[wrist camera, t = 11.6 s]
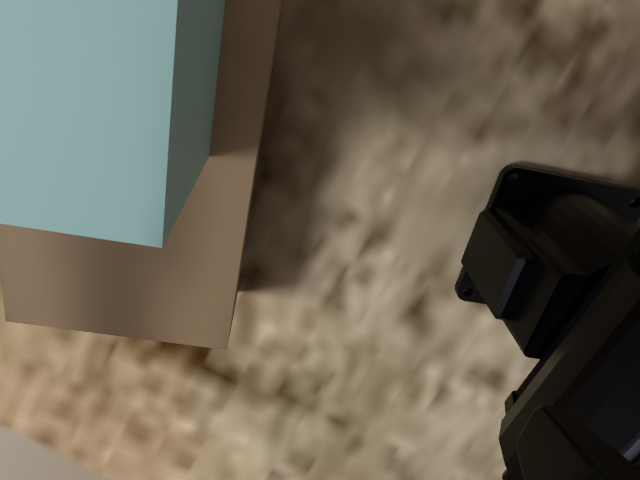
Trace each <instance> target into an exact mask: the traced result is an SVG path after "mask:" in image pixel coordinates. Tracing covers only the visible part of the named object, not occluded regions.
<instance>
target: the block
mask: <svg viewBox="0 0 640 480" xmlns="http://www.w3.org/2000/svg"><path fill="white" fill-rule="evenodd" d="M224 6H225V0H0V224H6V225H13V226H20V227H26V228H33V229H39V230H46V231H53V232H59V233H66V234H72V235H79V236H86V237H92V238H99V239H105V240H112V241H119V242H125V243H132V244H138V245H145V246H152V247H158V248H162V247H163V245H164V243H165V241H166V239H167V237H168V235H169V234H170V232H171V230H172V228H173V226H174V224H175V222H176V220H177V218H178V216H179V214H180V212H181V210H182V208H183V206H184V204H185V202H186V200H187V198H188V197H189V195H190V193H191V191H192V189H193V187H194V185H195V183H196V181H197V179H198V177H199V175H200V173H201V171H202V169H203V167H204V165H205V163H206V161H207V160H208V158H209V152H210V142H211V132H212V123H213V113H214V103H215V93H216V84H217V74H218V64H219V55H220V45H221V35H222V25H223V16H224Z"/></svg>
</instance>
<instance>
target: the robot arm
mask: <svg viewBox="0 0 640 480" xmlns="http://www.w3.org/2000/svg"><path fill="white" fill-rule="evenodd" d="M512 174H517V176H516V178H515V180H514V181H512V182H508V178H509V177H510V176H511V175H512ZM635 197H636V199H635V201H634V202H633V203H632V204H630V201H631V200H632V199H633V198H635ZM639 217H640V190H638V189H636V188H631V187H626V186H621V185H616V184H611V183H606V182H601V181H596V180H591V179H585V178H580V177H575V176H570V175H565V174H560V173H555V172H550V171H545V170H540V169H535V168H529V167H524V166H519V165H508V166H506V167H505V168H503V169H502V170H501V172H500V174H499V176H498V178H497V181H496V183H495V186H494V188H493V191H492V194H491V196H490V199H489V201H488V204H487V206H486V209H485V210H483V211H482V212H481V213H480V214H479V216H478V219H477V221H476V224H475V227H474V229H473V232H472V234H471V237H470V239H469V242H468V244H467V247H466V250H465V252H464V255H463V257H462V260H461V263H462V264H463V267H462V270H461V272H460V275H459V277H458V280H457V282H456V285H455V291H456V294H457V295H458V297H459V298H460V299H461V300H464V301H469V302H476V303H482V304H487V306H488V307H489V309H490V311H491V312H492V314H493V316H494V317H495V318H496V319H500V320H503V321H504V323H505V325H506V326H507V328H508V329H509V331H510V333H511V334H512V336H513V337H514V339H515V341H516V342H517V344H518V345H519V347H520V349H521V350H522V352H523V353H524V355H525V356H526V357H529V358H536V359H540V361H539V362H538V363H537V364H536V366H535V367H534V368H533V370H532V371H531V372H530V374H529V375H528V376H527V378H526V379H525V380H524V382H523V383H522V384H521V386H520V387H519V388H518V390H517V391H512V393H511V394H510V395H509V397H508V398H507V399H506V401H505V412H506V416H505V417H504V418H503V419H502V422H501V428H500V434H499V442H500V446H501V450H502V454H503V458H504V462H505V465H506V468H507V469H506V470H505V472H504V473H503V475H502V479H503V480H640V227H639V226H638V225H636V222H637V220H638V219H639ZM467 287H471V288H470V289H469V290H468V291H465V292H463V290H464V289H465V288H467Z"/></svg>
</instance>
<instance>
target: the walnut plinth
mask: <svg viewBox="0 0 640 480" xmlns="http://www.w3.org/2000/svg"><path fill="white" fill-rule="evenodd" d="M282 6H283V0H225V6H224V16H223V25H222V35H221V45H220V55H219V64H218V74H217V84H216V93H215V103H214V113H213V123H212V132H211V142H210V152H209V158H208V160H207V161H206V163H205V165H204V167H203V169H202V171H201V173H200V175H199V177H198V179H197V181H196V183H195V185H194V187H193V189H192V191H191V193H190V195H189V197H188V198H187V200H186V202H185V204H184V206H183V208H182V210H181V212H180V214H179V216H178V218H177V220H176V222H175V224H174V226H173V228H172V230H171V232H170V234H169V235H168V237H167V239H166V241H165V243H164V245H163V247H162V248H158V247H152V246H145V245H138V244H132V243H125V242H119V241H112V240H105V239H99V238H92V237H86V236H79V235H72V234H66V233H59V232H53V231H46V230H39V229H33V228H26V227H20V226H13V225H6V224H0V272H1V281H2V291H3V301H4V310H5V320H6V321H9V322H16V323H24V324H32V325H39V326H47V327H55V328H62V329H70V330H78V331H85V332H93V333H101V334H108V335H116V336H124V337H131V338H139V339H147V340H154V341H162V342H170V343H177V344H185V345H193V346H200V347H208V348H216V349H223V350H227V346H228V341H229V336H230V330H231V325H232V320H233V315H234V309H235V304H236V299H237V294H238V287H239V281H240V275H241V268H242V262H243V255H244V249H245V243H246V236H247V230H248V223H249V217H250V211H251V204H252V198H253V191H254V185H255V179H256V172H257V166H258V159H259V153H260V147H261V140H262V134H263V127H264V121H265V115H266V108H267V102H268V95H269V89H270V83H271V76H272V70H273V63H274V57H275V51H276V44H277V38H278V31H279V25H280V19H281V12H282Z"/></svg>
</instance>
